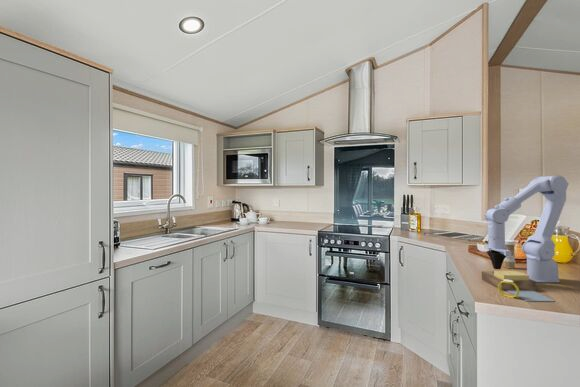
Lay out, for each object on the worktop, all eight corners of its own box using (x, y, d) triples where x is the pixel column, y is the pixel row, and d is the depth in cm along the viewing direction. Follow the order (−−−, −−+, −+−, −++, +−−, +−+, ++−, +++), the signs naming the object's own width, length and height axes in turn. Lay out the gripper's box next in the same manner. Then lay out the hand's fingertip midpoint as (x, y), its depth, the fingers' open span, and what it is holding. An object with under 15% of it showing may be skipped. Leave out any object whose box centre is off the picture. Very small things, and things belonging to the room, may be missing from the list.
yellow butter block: (517, 275, 113) (517, 270, 113) (529, 280, 107) (529, 275, 107) (494, 275, 114) (494, 270, 114) (503, 280, 108) (503, 275, 108)
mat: (531, 290, 106) (531, 289, 106) (555, 301, 95) (555, 300, 95) (506, 290, 106) (506, 289, 106) (526, 301, 96) (526, 300, 96)
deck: (511, 279, 119) (511, 271, 119) (535, 290, 106) (535, 281, 106) (481, 279, 120) (481, 271, 120) (501, 290, 107) (501, 281, 107)
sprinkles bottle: (503, 268, 135) (502, 240, 135) (503, 266, 139) (503, 239, 138) (515, 269, 132) (514, 241, 132) (515, 267, 136) (514, 240, 136)
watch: (519, 298, 100) (520, 282, 99) (517, 300, 98) (518, 284, 97) (499, 292, 104) (500, 277, 104) (496, 294, 103) (497, 278, 102)
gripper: (476, 234, 126) (477, 264, 126) (497, 240, 112) (498, 273, 112) (493, 234, 125) (494, 264, 126) (516, 240, 111) (516, 274, 111)
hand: (497, 268), depth 119 cm, fingers closed
